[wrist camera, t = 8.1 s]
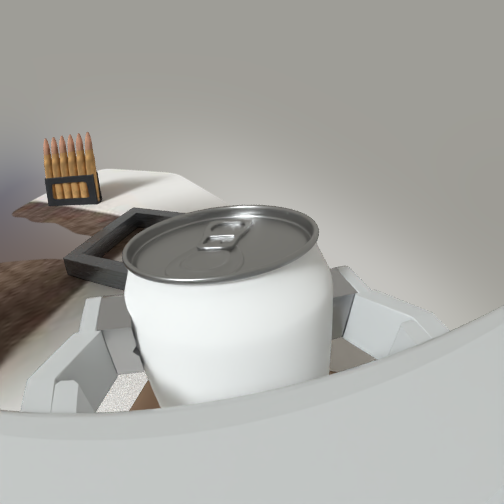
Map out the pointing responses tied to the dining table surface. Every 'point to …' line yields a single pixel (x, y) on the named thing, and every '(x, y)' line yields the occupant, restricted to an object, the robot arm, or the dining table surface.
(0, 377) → the dining table surface
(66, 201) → the ammunition clip
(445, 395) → the robot arm
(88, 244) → the dark grey square frame
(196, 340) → the can
